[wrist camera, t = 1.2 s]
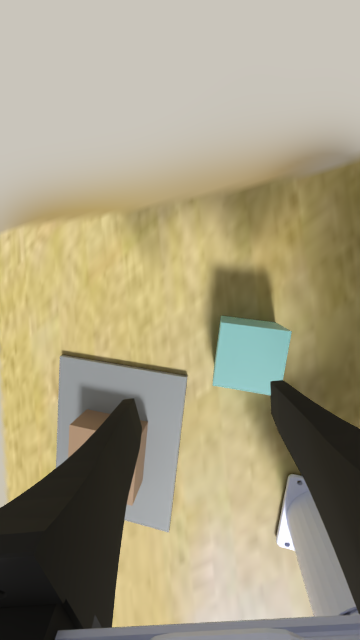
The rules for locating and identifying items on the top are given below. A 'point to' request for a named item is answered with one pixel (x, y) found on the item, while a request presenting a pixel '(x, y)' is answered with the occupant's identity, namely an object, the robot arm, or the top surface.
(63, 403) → the build base
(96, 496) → the robot arm
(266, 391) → the teal block
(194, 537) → the top surface
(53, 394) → the top surface
